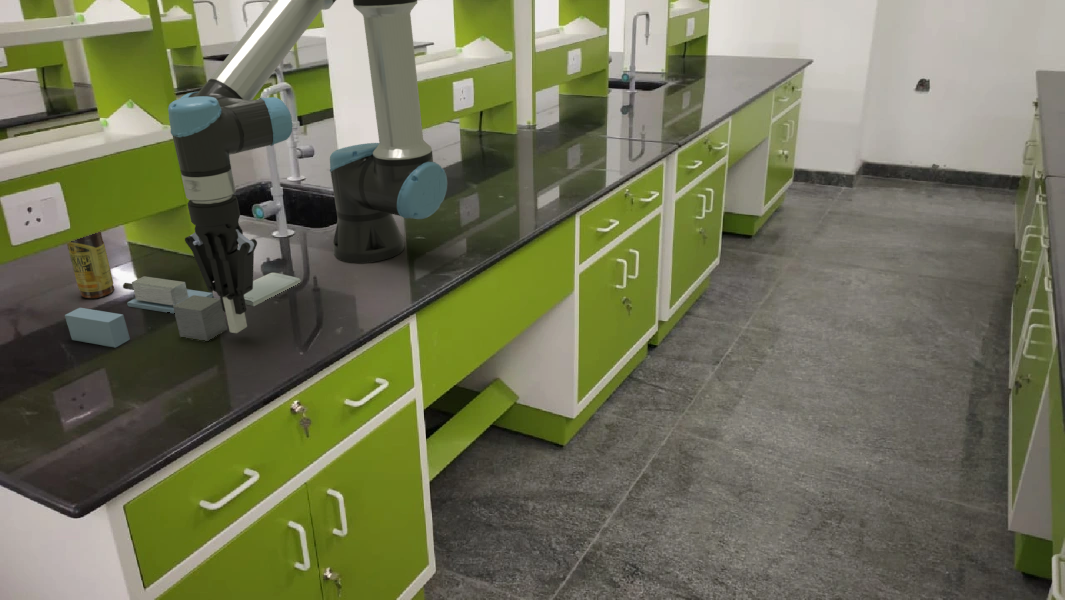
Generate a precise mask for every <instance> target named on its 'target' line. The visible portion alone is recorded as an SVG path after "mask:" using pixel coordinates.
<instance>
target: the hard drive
mask: <svg viewBox="0 0 1065 600" xmlns="http://www.w3.org/2000/svg"><path fill="white" fill-rule="evenodd" d="M300 282H301V283H302V281H301V279H300V277H296V276H291V275H287V274H283V273H278V272H270V273H267V274H265V275H263V276H261V277H259V278H256V279H253V289H252V290H251V291H249V292H248V293H246V294H244V299H245V304H246V305H247V306H252V307H255V306H257V305H260V304H261V303H263V302H266V301H267V299H268V300H270V299H272V298H274V297H276V296H278V295H279V293H280V294H282V293H283V291H284V292H286V291H287V289H288V290H290V289H291V287H292V288H293V286H294V287H296V286H297V284H298V283H300ZM301 283H300V284H301ZM295 285H296V286H295ZM298 285H299V284H298ZM289 288H290V289H289ZM285 290H286V291H285ZM281 292H282V293H281ZM277 294H278V295H277ZM275 295H276V296H275ZM271 297H272V298H271ZM269 298H270V299H269ZM265 300H266V301H265Z"/></svg>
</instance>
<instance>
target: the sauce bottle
mask: <svg viewBox="0 0 1065 600" xmlns="http://www.w3.org/2000/svg"><path fill="white" fill-rule="evenodd" d="M102 235H103V234H102V231H101V232H98V233H95V234H92V235H89V236H86V237H83V238H80V239H77V240H75V241H71V242H69V243H67V242H66V245H67V251H68V254H69V257H70V261H71V265H72V269H73V273H74V276H75V281H76V285H77V288H78V290H79V293H80V295H81V297H83V298H85V299H101V298H102V297H105V296H108V295H110V294H112V293H113V292H114V290H115V286H114V280H113V279H114V278H113V275H112V272H111V267H110V264H109V258H108V255H107V254H108V253H107V249H106V246H105V242H104V240H103V236H102Z"/></svg>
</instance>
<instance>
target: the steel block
mask: <svg viewBox="0 0 1065 600" xmlns="http://www.w3.org/2000/svg"><path fill="white" fill-rule="evenodd" d="M173 309H174V313H175V314H174V313H173V314H174V317H175V321H176V324H177V325H176V326H177V328H178V333H179V337H180V338H181V337H186V338H185V339H187V338H193V339H199V340H205V341H209V340H210V339H212V338H213V339H215V338H216V337H218V336H219V335H218V334H220V333H221V332H223V331H224V332H226V331H228V326H227V321H226V317H225V312H224V311H223V309H222V304H221V299H220V298H215V297H212V298H210V297H203V296H196V295H193V296H191V297H189V298H187V299H186V300H184V301H182V302H180V303H178V304H177V305H175V306H173ZM225 330H226V331H225ZM224 332H223V333H224ZM221 334H222V333H221ZM221 334H220V335H221ZM217 335H218V336H217ZM215 336H216V337H215ZM214 337H215V338H214ZM193 339H192V340H193ZM213 339H212V340H213ZM199 340H198V341H199ZM205 341H204V342H205ZM210 341H211V340H210ZM210 341H209V342H210Z"/></svg>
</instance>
